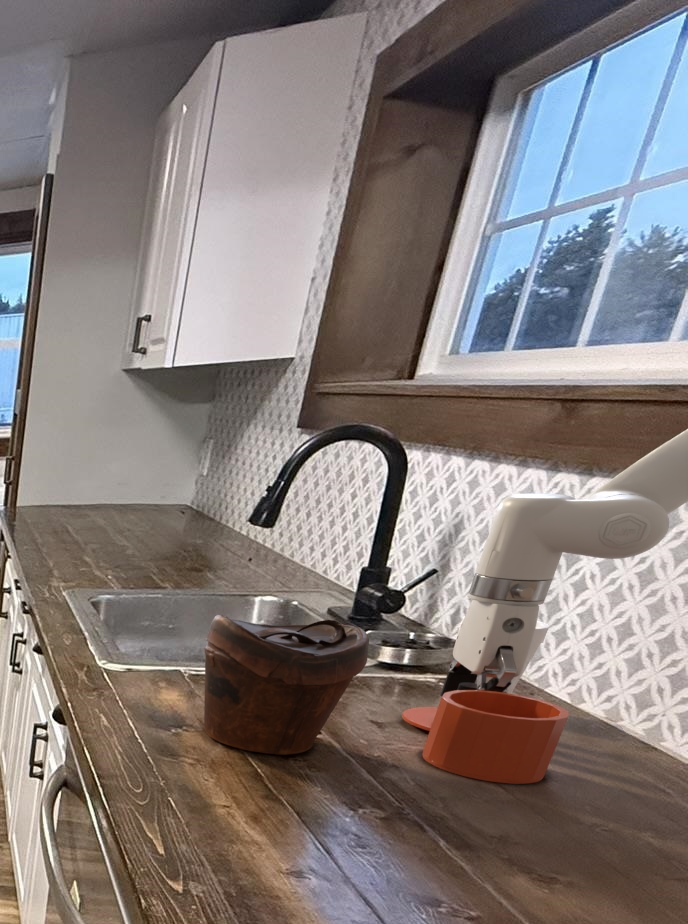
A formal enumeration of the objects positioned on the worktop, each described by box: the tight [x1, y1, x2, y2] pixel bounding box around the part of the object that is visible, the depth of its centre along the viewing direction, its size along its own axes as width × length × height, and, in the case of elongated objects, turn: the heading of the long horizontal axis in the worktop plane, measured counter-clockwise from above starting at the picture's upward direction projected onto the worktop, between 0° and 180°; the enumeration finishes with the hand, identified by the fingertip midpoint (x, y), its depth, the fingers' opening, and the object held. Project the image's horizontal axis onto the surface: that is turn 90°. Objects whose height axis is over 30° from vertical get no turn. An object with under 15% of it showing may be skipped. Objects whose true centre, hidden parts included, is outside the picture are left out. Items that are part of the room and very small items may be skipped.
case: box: [203, 614, 370, 756], centre depth 115 cm, size 18×20×18 cm
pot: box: [422, 690, 570, 785], centre depth 106 cm, size 12×12×8 cm
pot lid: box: [401, 682, 477, 732], centre depth 118 cm, size 13×13×7 cm
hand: (466, 708), depth 118 cm, fingers open, 8 cm apart
